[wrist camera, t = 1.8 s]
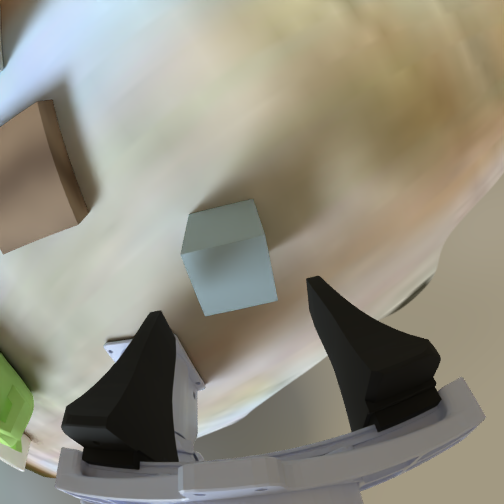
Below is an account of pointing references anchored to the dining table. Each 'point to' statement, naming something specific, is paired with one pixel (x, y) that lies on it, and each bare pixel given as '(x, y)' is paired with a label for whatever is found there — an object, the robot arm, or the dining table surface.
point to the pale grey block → (228, 258)
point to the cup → (16, 454)
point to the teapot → (13, 406)
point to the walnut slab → (36, 179)
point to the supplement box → (0, 58)
